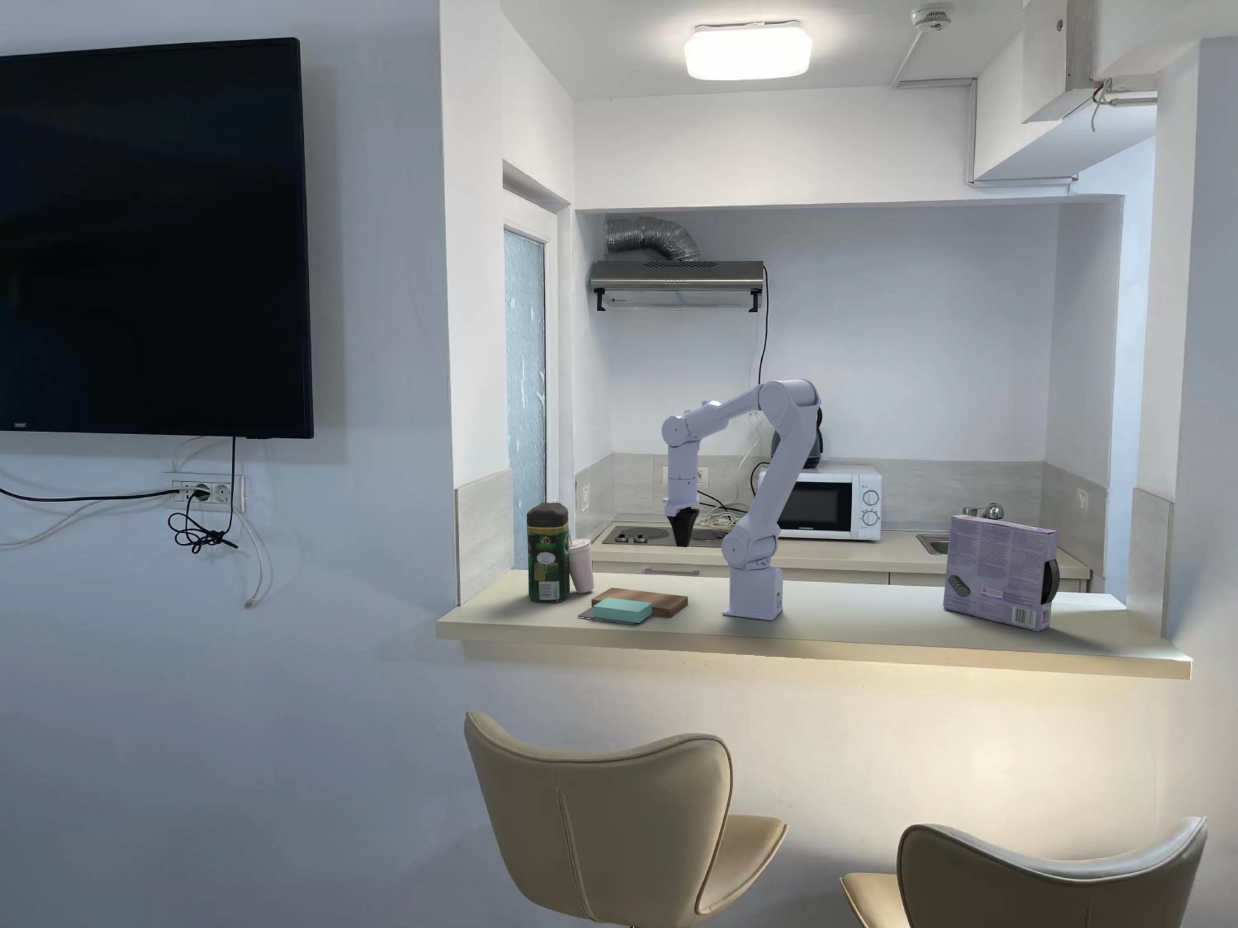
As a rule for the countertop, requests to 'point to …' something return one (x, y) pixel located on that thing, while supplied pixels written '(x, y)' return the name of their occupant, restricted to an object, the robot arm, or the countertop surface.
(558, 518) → the coffee jar
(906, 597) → the countertop surface
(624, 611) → the teal rectangular block
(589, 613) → the mat
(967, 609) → the cake pan box
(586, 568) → the smoothie
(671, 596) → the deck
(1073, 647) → the countertop surface
